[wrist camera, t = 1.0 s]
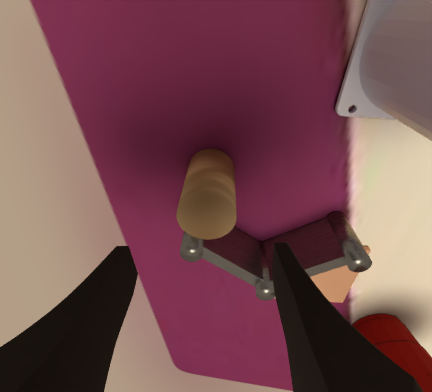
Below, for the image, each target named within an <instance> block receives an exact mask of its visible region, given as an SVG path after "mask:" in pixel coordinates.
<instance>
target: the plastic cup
mask: <svg viewBox="0 0 432 392" xmlns="http://www.w3.org/2000/svg"><path fill="white" fill-rule="evenodd" d="M353 327H354V328H355V329H357V330H358V331H359V332H360V333H361V334H362V335H363V336H364V337H365V338H366V339H367V340H368V341H370V342H371V343H372V344H373V345H374V346H375V347H376V348H378V349H379V350H380V351H381V352H382V353H384V354H385V355H386V356H387V357H388V358H390V359H391V360H392V361H393V362H395V363H396V364H397V365H399V366H400V367H401V368H402V369H404V370H405V371H406V372H408V373H409V374H410V375H412V376H413V377H414V378H415V380H416V381H417V383H418V384H419V386H420V387H421V389H422V390H423V392H432V357H431V356H430V355H429V354H428V352H427V351H426V350H425V349H424V348H423V347H422V346H421V345H420V344H419V343H418V341H417V340H416V339H415V337H414V336H413V335H412V334H411V332H410V331H409V330H408V328H407V327H406V326H405V325H404V324H403V323H402V322H401V321H400V320H399V319H398V318H397V317H396V316H392V315H389V314H375V315H370V316H366V317H364V318H362V319H359V320H358V321H357V322H355V323H354V324H353Z"/></svg>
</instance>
